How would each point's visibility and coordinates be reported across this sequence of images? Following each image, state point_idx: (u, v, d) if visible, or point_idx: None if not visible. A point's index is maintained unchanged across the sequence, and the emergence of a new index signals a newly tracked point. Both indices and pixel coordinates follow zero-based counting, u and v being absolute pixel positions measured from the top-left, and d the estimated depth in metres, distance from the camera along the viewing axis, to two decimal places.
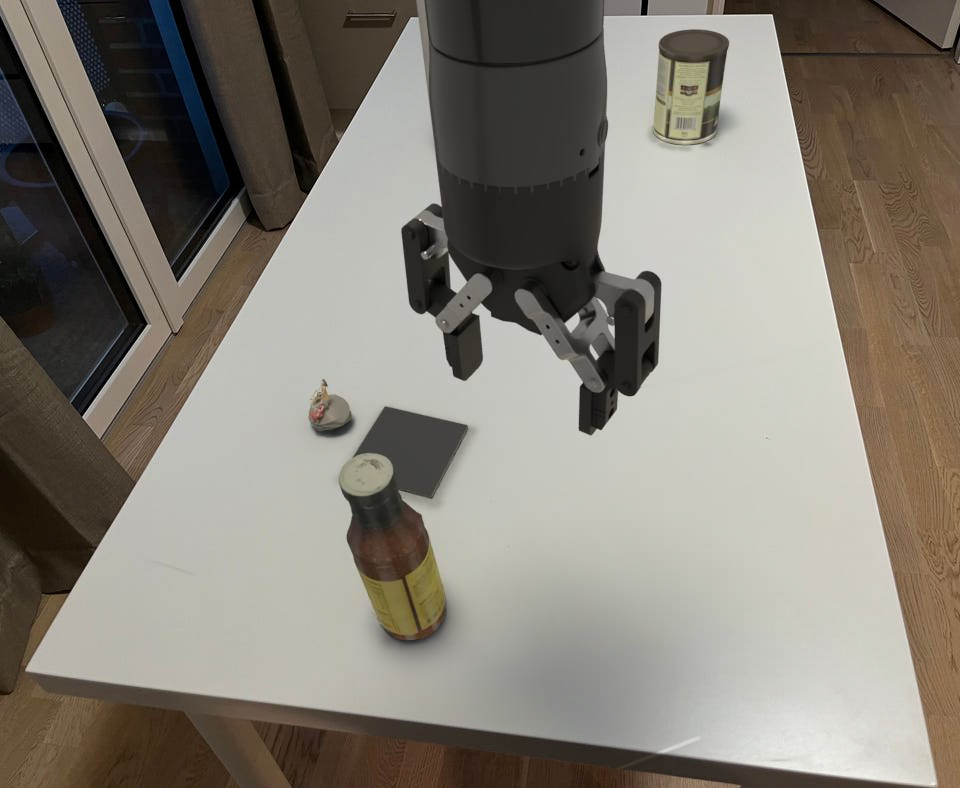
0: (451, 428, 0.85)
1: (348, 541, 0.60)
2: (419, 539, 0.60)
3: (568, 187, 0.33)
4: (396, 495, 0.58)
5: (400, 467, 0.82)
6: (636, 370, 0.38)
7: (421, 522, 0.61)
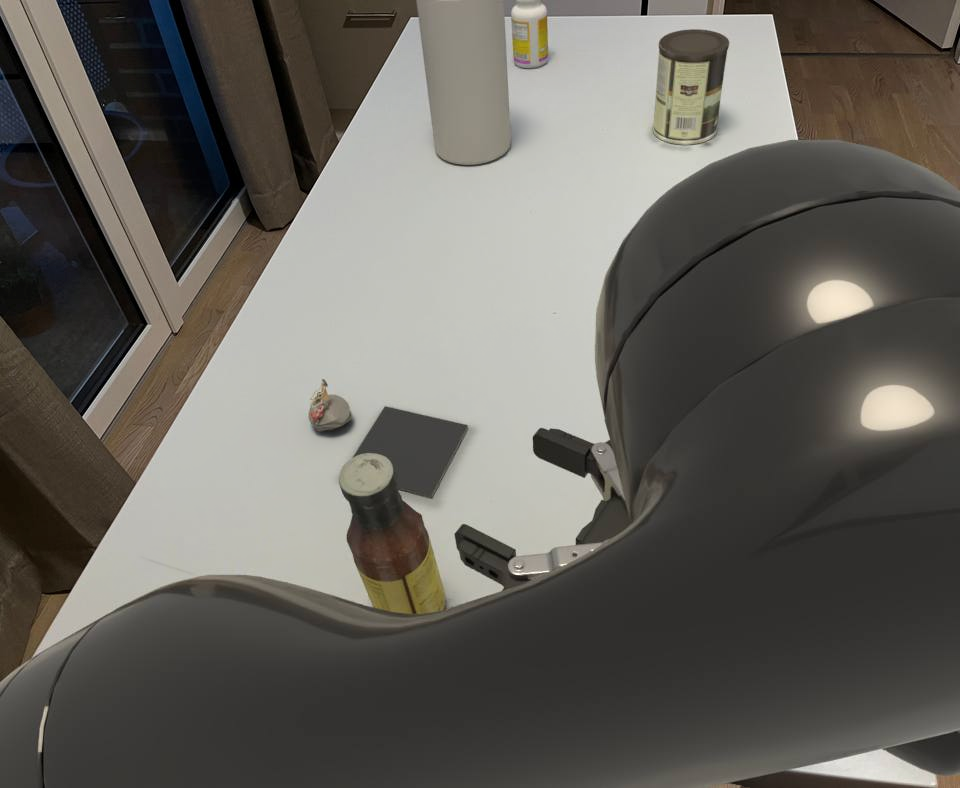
0: (451, 428, 0.85)
1: (348, 541, 0.60)
2: (419, 539, 0.60)
3: None
4: (396, 495, 0.58)
5: (400, 467, 0.82)
6: None
7: (421, 522, 0.61)
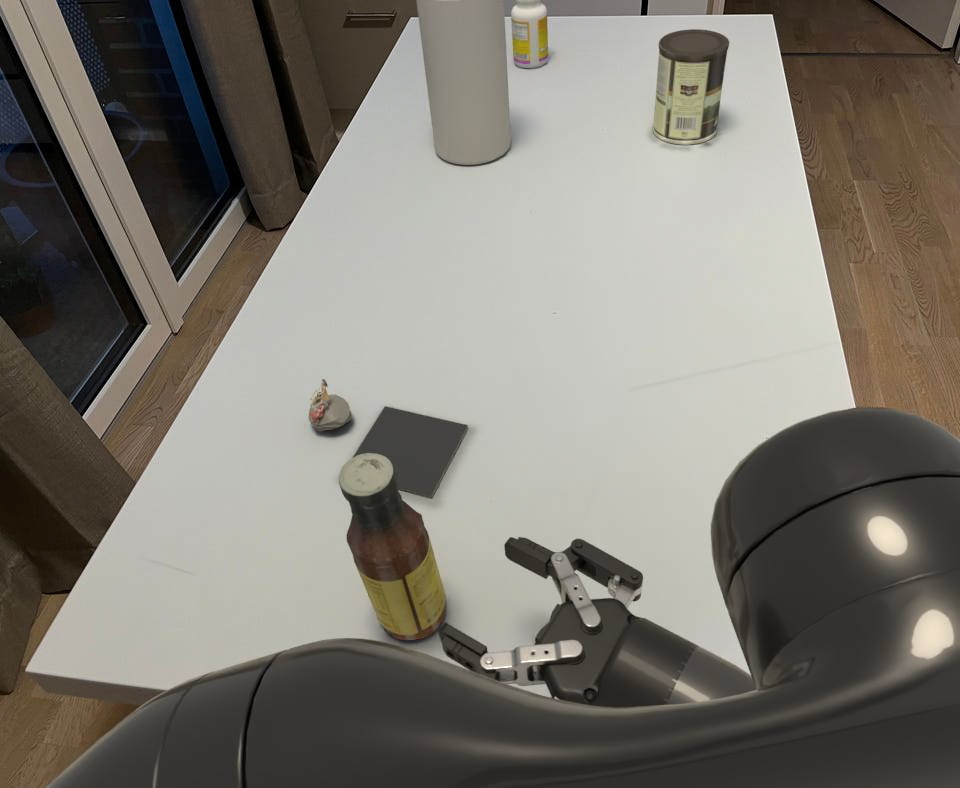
0: (451, 428, 0.85)
1: (348, 541, 0.60)
2: (419, 539, 0.60)
3: None
4: (396, 495, 0.58)
5: (400, 467, 0.82)
6: None
7: (421, 522, 0.61)
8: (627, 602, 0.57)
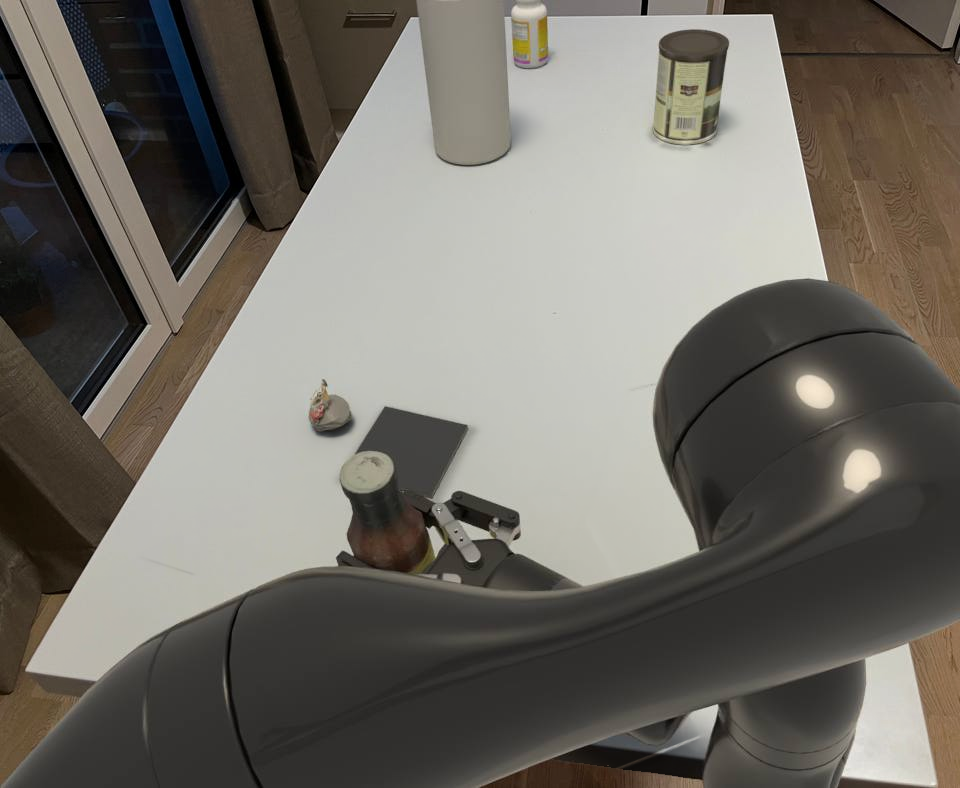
0: (451, 428, 0.85)
1: (348, 539, 0.60)
2: (420, 537, 0.60)
3: None
4: (397, 492, 0.58)
5: (400, 467, 0.82)
6: None
7: (421, 520, 0.61)
8: (508, 540, 0.61)
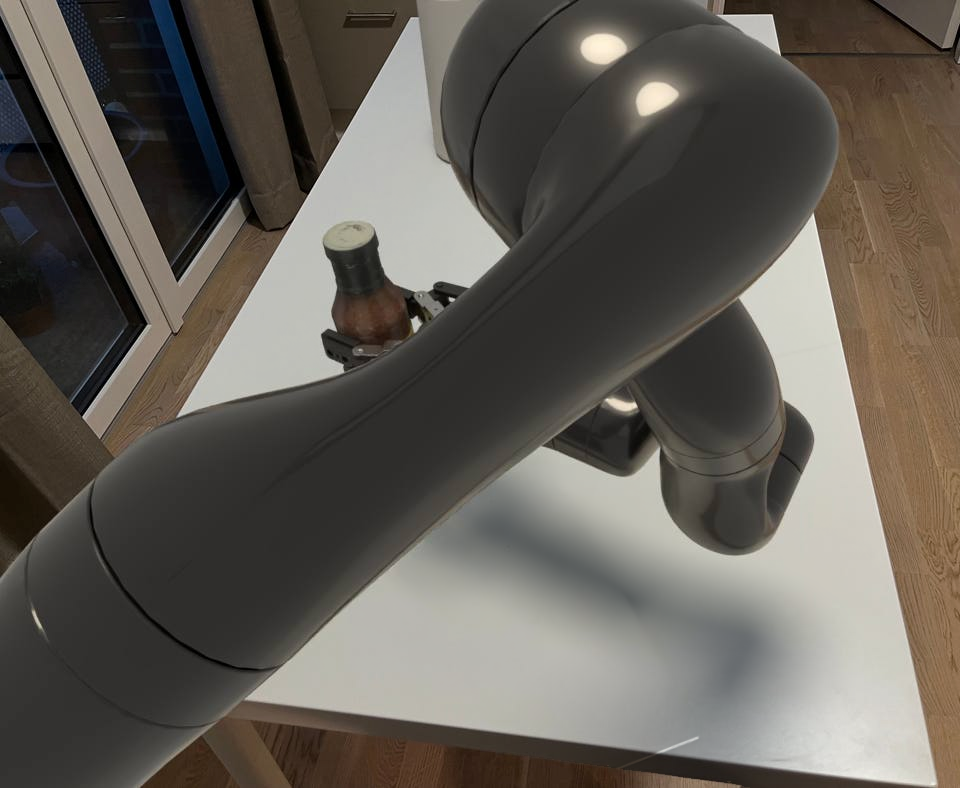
0: None
1: (333, 315, 0.63)
2: (401, 314, 0.63)
3: None
4: (378, 261, 0.60)
5: None
6: None
7: (403, 300, 0.64)
8: None
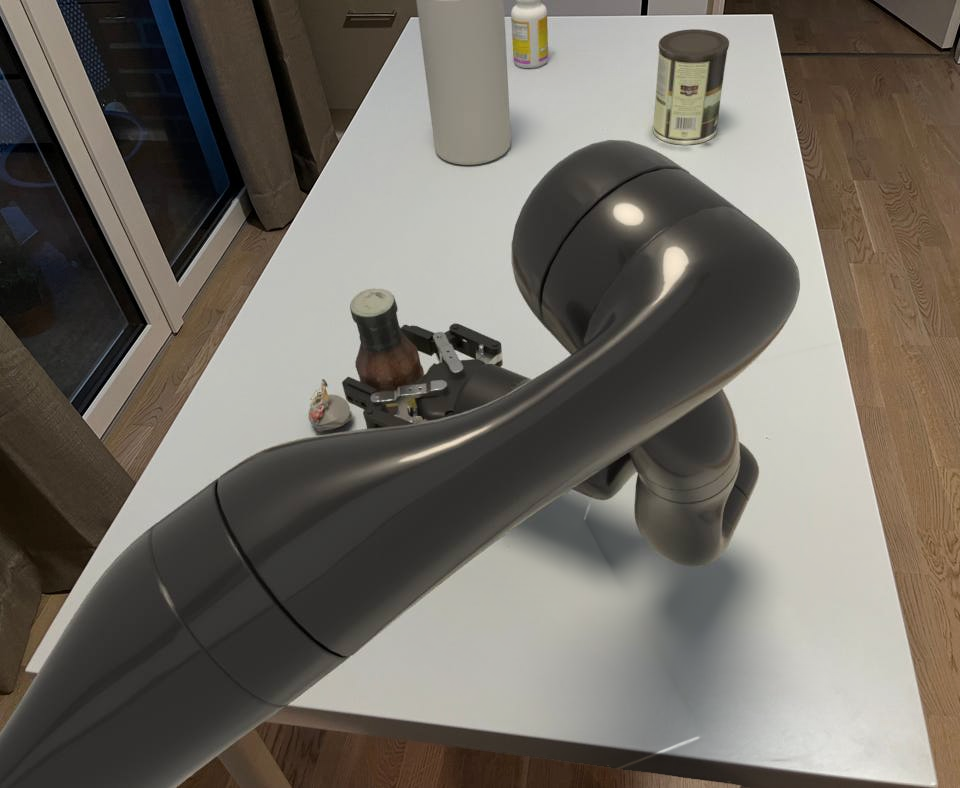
0: None
1: (357, 366, 0.74)
2: (415, 365, 0.74)
3: None
4: (396, 322, 0.71)
5: None
6: (377, 421, 0.68)
7: (417, 353, 0.75)
8: (488, 363, 0.74)
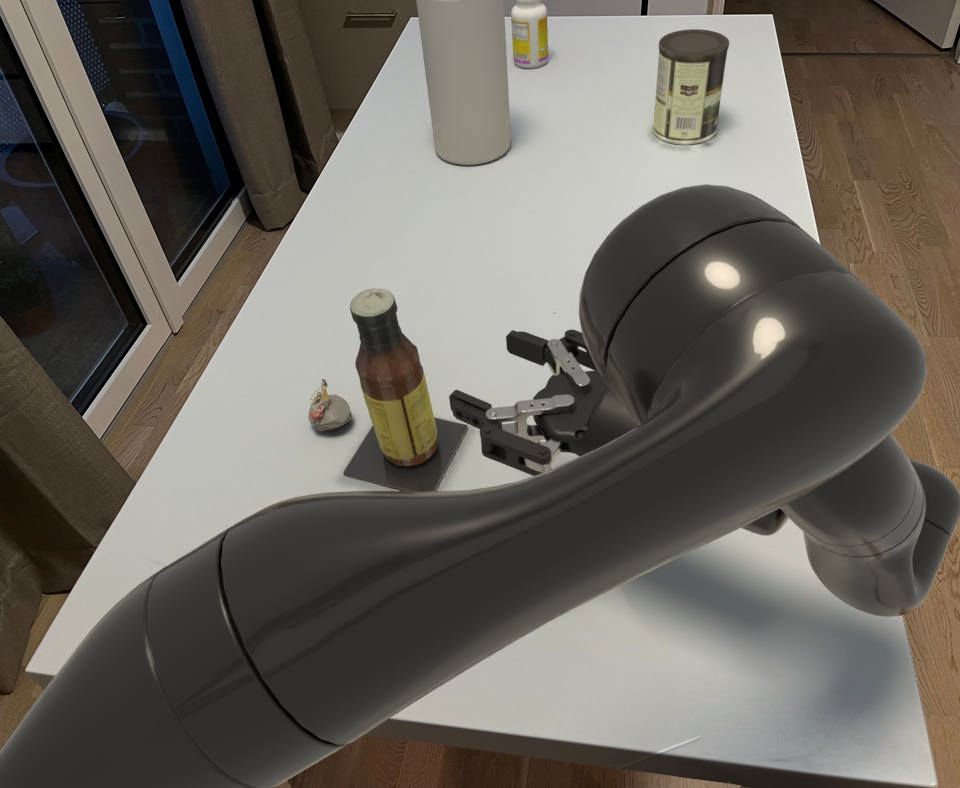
0: (451, 428, 0.85)
1: (357, 366, 0.74)
2: (415, 365, 0.74)
3: None
4: (396, 322, 0.71)
5: (400, 467, 0.82)
6: (498, 441, 0.60)
7: (416, 353, 0.75)
8: None
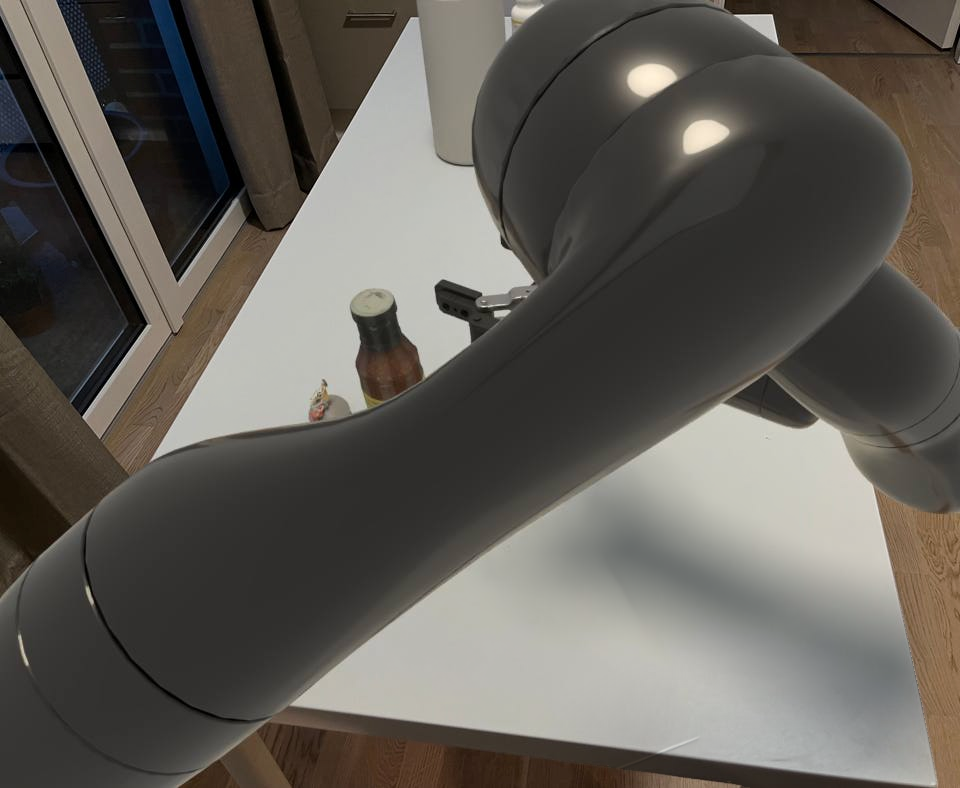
0: None
1: (356, 366, 0.74)
2: (415, 365, 0.74)
3: None
4: (396, 322, 0.71)
5: None
6: (489, 329, 0.52)
7: (416, 353, 0.75)
8: None
